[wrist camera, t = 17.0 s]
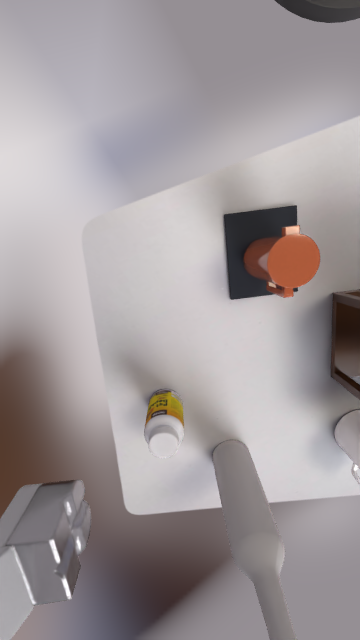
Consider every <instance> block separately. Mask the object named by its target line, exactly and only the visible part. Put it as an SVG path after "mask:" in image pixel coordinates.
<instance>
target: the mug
mask: <svg viewBox="0 0 360 640" xmlns="http://www.w3.org/2000/svg"><path fill="white" fill-rule="evenodd" d="M335 440H336V442H337V443H338V445H339V446H340V447H341V448H342V449H343V450H344V452H345V453H346V454H347V455H348V456H349V457H350V459H351V460H352V461H353V465H352V469H351V472H352V475H353V476H354V478H355V479H356V481H357V482H358V483H359V485H360V478H359V476H358V475H357V468H359V469H360V410H355V411H352V412H350V413H348V414H346V415H345V416H344V417H343V418H342V419H341V420H340V421H339V422H338V424H337V426H336V428H335Z"/></svg>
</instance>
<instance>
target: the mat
mask: <svg viewBox="0 0 360 640" xmlns="http://www.w3.org/2000/svg"><path fill="white" fill-rule="evenodd" d="M224 218H225V232H226V245H227V258H228V271H229V285H230V298H231V300H232V299H240V298H248V297H256V296H264V295H272V294H274V293H272V292H269V291H267V289H266V285H267V281H264V280H261V279H258V278H255V277H253V276H251V275H250V274H249V273H248V272H247V270H246V268H245V266H244V254H245V251H246V249H247V247H248V246H249V245H250V244H251V243H252V242H253V241H255V240H257V239H259V238H264V237H272V236H280V235H282V227H288V226H296V225H297V206H288V207H280V208H272V209H264V210H256V211H248V212H241V213H233V214H225V215H224ZM296 291H298V287H296V288H293V292H296Z"/></svg>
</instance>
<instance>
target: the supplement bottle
mask: <svg viewBox="0 0 360 640" xmlns="http://www.w3.org/2000/svg"><path fill="white" fill-rule="evenodd" d="M144 436H145V439H146V441H147V443H148V445H149V450H150V452H151V453H152V454H153V455H154V456H156V457H159V458H168V457H171V456H173V455H174V454H175V453H176V452H177V450H178V448H179V445H180V443H181V442H182V440H183V438H184V420H183V403H182V399H181V397H180V396H179V395H178V394H177V393H176V392H174V391H172V390H169V389H163V390H159V391H157V392H156V393H154V394H153V395H152V397H151V398H150V401H149V406H148V412H147V418H146V424H145V430H144Z"/></svg>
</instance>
